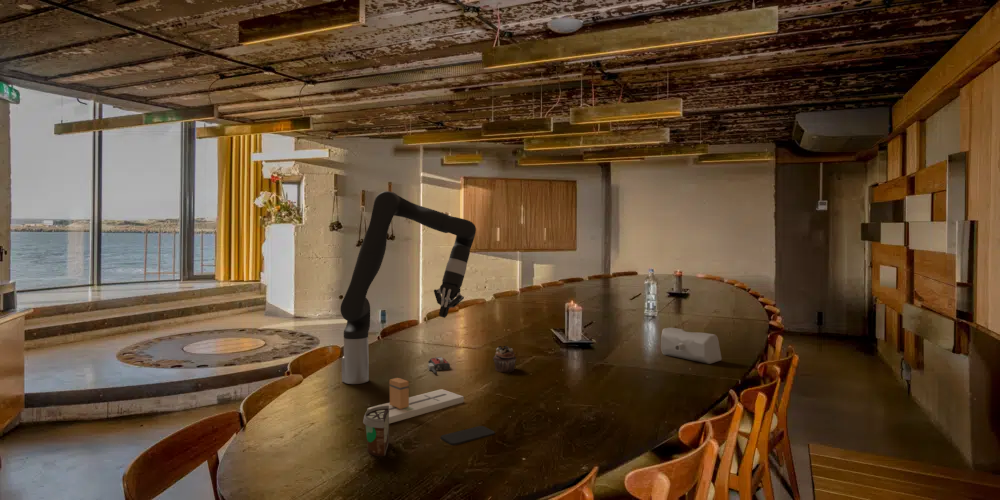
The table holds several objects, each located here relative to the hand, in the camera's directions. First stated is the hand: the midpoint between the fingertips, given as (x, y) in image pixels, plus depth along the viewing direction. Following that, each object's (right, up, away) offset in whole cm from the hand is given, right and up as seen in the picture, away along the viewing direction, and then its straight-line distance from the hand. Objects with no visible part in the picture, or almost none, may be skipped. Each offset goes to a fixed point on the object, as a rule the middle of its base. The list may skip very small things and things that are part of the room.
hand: (442, 317), depth 205 cm
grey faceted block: (+106, -25, +46) cm, 119 cm away
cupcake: (+23, -26, +26) cm, 43 cm away
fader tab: (-11, -25, -28) cm, 39 cm away
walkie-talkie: (-4, -26, +28) cm, 38 cm away
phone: (+12, -29, -47) cm, 56 cm away
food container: (-12, -29, -57) cm, 65 cm away
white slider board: (-6, -27, -23) cm, 36 cm away
